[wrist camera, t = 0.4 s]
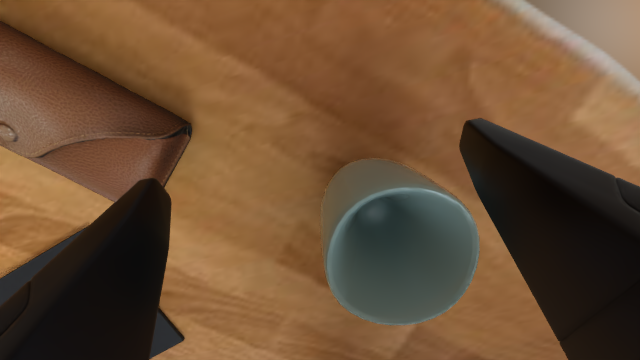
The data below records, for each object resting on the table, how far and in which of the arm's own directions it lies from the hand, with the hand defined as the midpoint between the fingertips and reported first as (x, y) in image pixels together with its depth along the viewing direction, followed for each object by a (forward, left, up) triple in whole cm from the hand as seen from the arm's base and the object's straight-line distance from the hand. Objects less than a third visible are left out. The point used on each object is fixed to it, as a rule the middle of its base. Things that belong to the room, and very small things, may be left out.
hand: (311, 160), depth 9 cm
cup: (-7, -1, -15) cm, 16 cm away
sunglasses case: (+10, +15, -15) cm, 23 cm away
